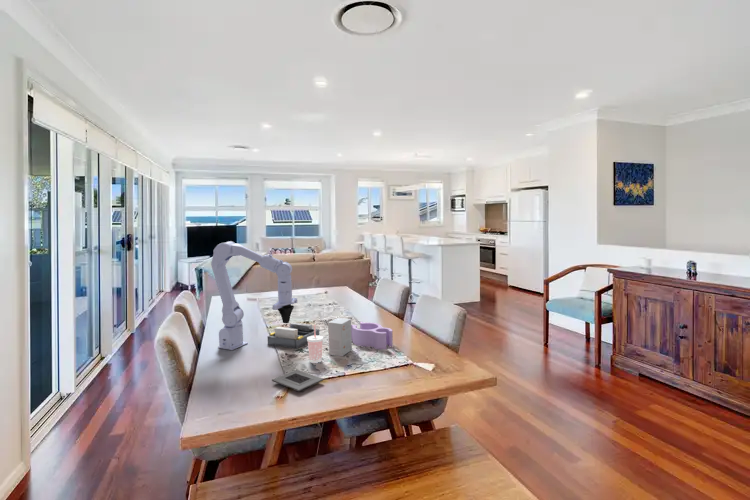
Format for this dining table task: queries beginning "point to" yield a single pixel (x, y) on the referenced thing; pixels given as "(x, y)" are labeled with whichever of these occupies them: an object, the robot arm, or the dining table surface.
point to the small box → (339, 336)
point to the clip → (371, 335)
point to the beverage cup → (315, 347)
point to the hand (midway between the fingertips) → (286, 322)
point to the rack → (303, 333)
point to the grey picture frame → (297, 380)
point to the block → (286, 333)
